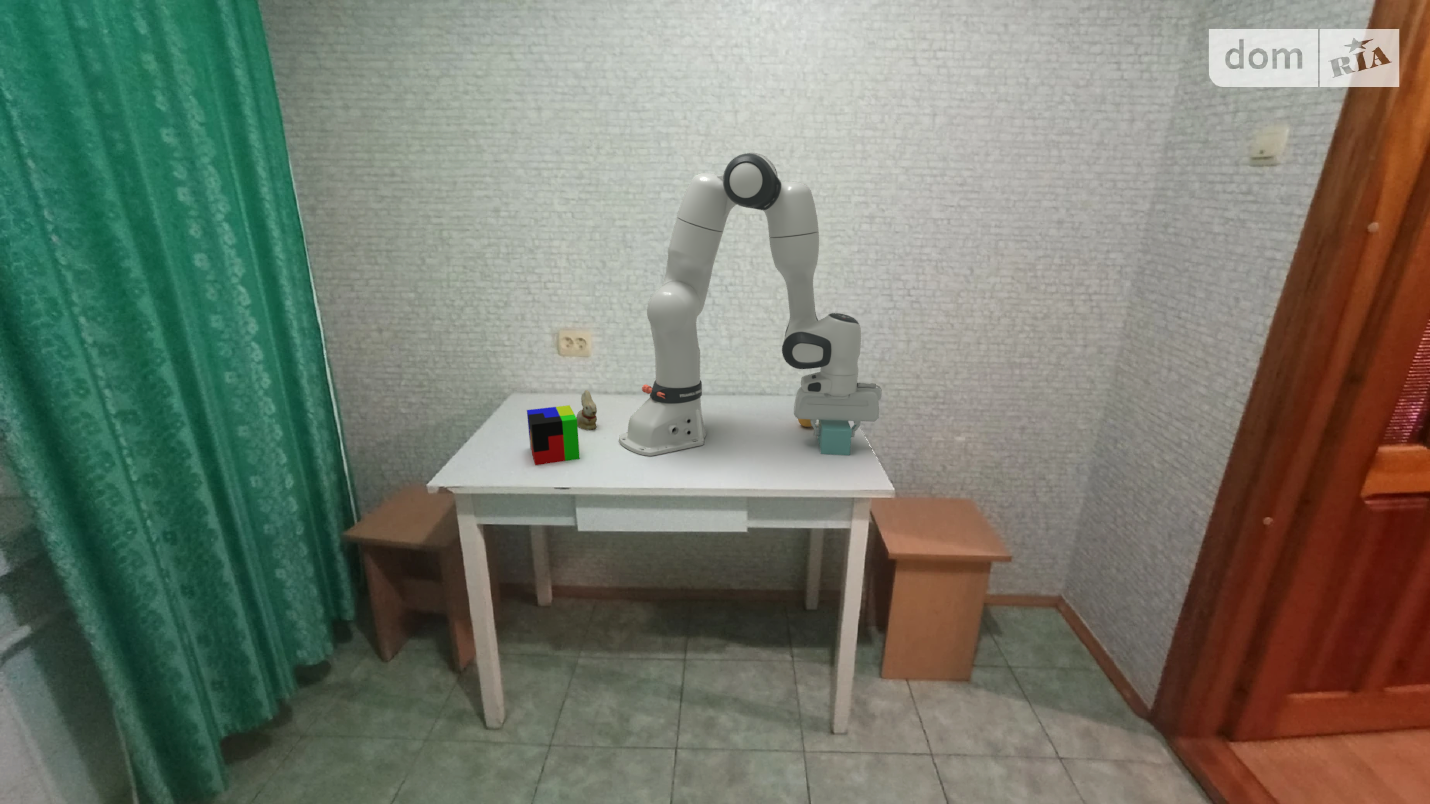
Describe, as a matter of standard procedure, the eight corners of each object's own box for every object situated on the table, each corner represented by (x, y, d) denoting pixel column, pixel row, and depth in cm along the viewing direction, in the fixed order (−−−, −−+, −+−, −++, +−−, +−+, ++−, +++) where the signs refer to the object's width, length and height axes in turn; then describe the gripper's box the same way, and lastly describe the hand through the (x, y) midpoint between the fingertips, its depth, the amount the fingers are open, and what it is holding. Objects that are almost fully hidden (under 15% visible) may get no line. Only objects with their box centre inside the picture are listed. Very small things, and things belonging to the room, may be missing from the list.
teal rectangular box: (849, 455, 151) (851, 431, 148) (820, 454, 151) (822, 430, 149) (844, 438, 160) (846, 415, 158) (817, 437, 161) (819, 414, 158)
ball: (807, 431, 165) (808, 413, 163) (793, 425, 168) (794, 408, 166) (820, 426, 168) (821, 409, 166) (805, 421, 171) (807, 404, 170)
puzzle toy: (530, 448, 152) (526, 410, 149) (572, 443, 155) (569, 405, 152) (535, 465, 143) (531, 424, 140) (579, 459, 147) (577, 419, 143)
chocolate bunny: (576, 431, 162) (573, 395, 159) (576, 421, 169) (574, 385, 166) (597, 430, 163) (595, 394, 160) (597, 419, 170) (595, 384, 167)
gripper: (880, 379, 152) (874, 432, 157) (795, 376, 154) (792, 429, 158) (885, 387, 146) (879, 442, 151) (796, 384, 148) (793, 439, 152)
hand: (833, 435), depth 155 cm, fingers closed on teal rectangular box, 7 cm apart
